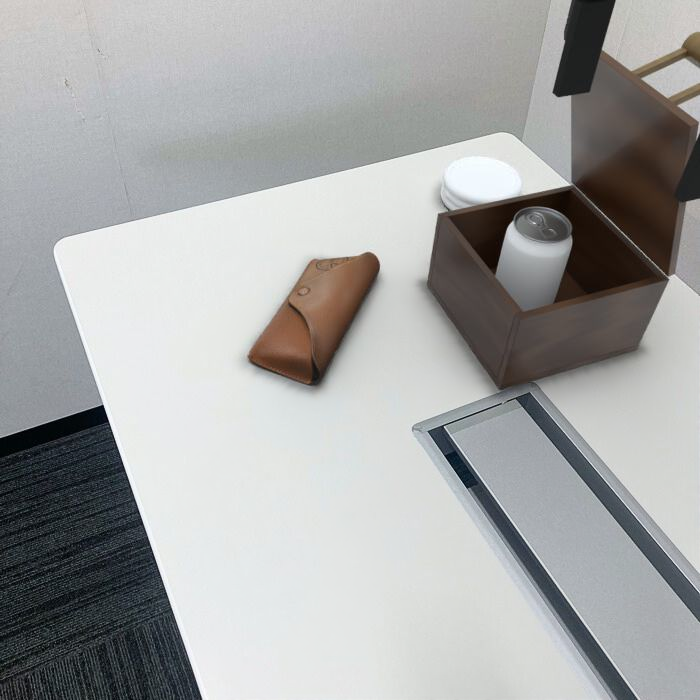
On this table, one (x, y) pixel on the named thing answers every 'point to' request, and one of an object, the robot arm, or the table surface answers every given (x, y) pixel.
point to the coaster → (478, 182)
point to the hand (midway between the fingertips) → (627, 140)
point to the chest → (571, 299)
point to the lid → (636, 151)
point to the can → (534, 256)
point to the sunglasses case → (315, 317)
